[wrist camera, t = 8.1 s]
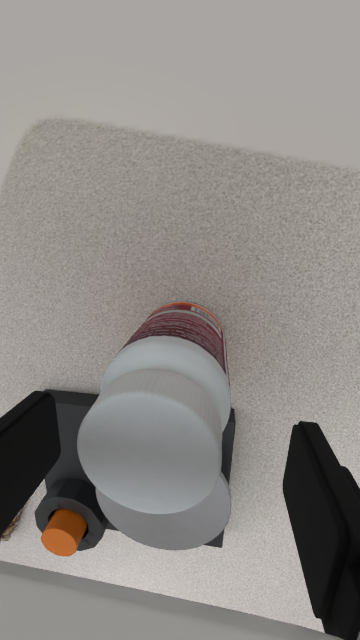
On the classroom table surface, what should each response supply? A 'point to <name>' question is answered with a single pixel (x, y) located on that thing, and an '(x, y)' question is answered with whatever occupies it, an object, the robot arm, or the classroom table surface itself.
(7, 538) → the mineral rock
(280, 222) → the classroom table surface
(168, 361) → the pill bottle
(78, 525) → the tare button
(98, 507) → the scale
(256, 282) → the classroom table surface
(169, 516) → the weighing pan
